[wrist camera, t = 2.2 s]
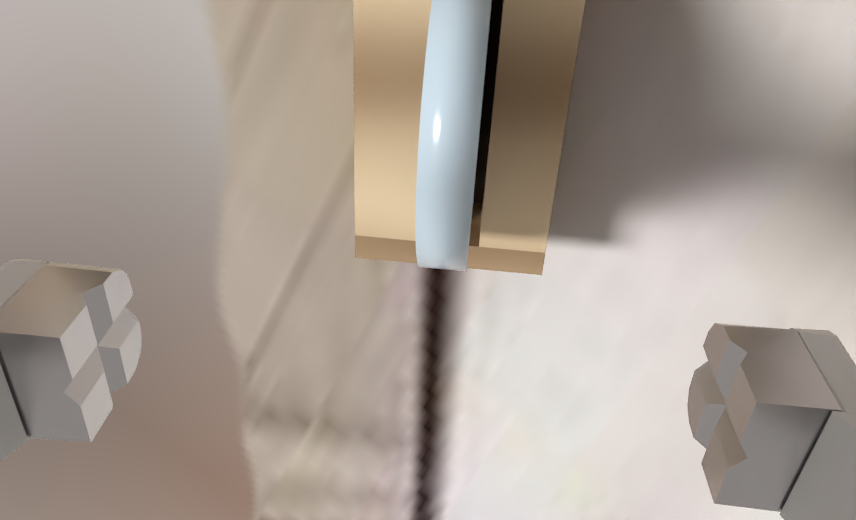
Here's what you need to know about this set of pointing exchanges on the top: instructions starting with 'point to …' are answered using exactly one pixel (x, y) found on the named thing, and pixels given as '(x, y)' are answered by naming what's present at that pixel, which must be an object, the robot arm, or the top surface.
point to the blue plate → (450, 130)
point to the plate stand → (508, 137)
